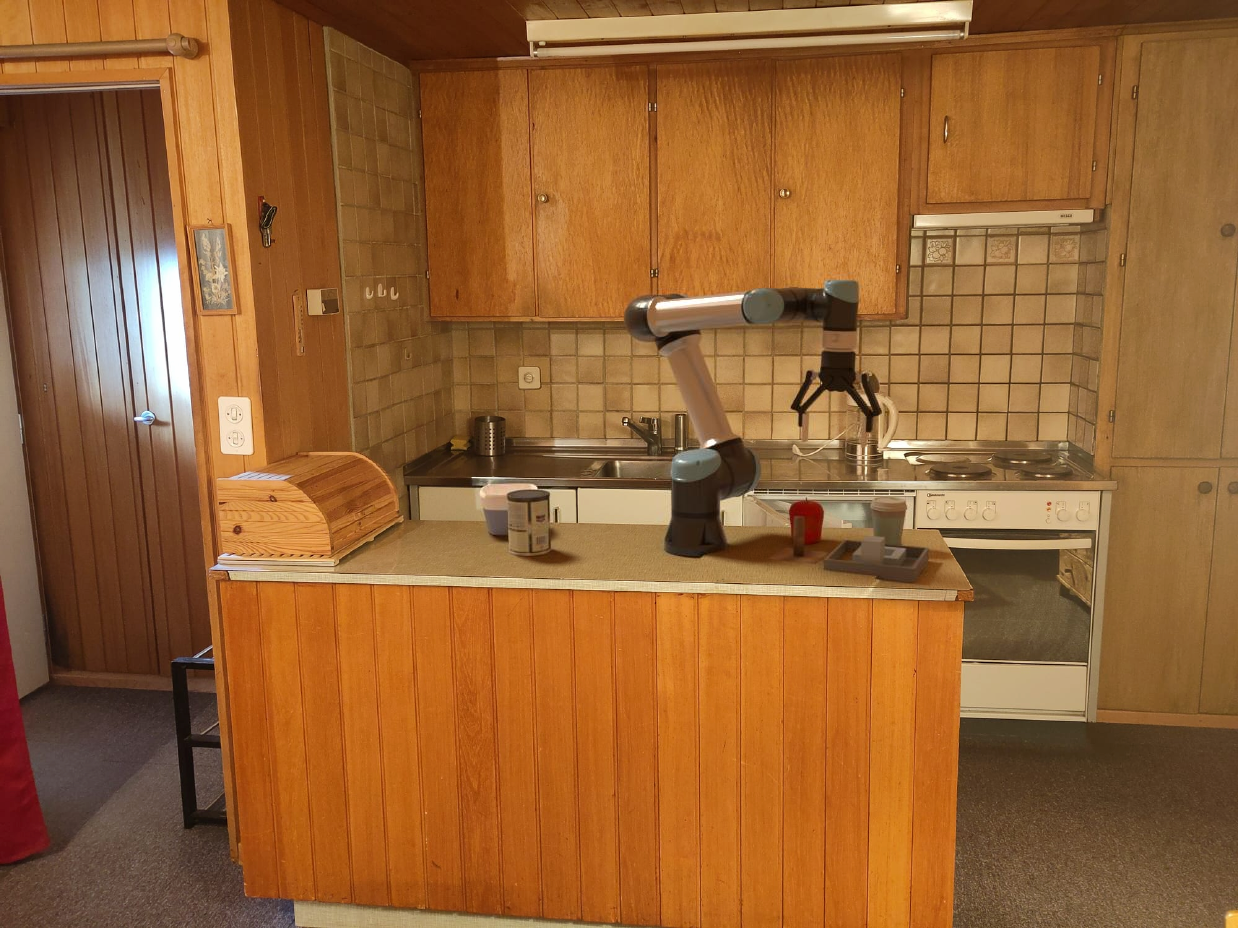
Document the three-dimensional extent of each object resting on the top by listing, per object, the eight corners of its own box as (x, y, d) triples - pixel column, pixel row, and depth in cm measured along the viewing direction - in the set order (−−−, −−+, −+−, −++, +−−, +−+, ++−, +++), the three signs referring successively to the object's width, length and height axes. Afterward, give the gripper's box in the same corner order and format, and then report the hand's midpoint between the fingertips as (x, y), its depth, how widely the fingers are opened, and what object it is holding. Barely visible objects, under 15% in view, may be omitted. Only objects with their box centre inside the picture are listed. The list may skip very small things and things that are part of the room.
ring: (846, 570, 228) (847, 539, 227) (861, 554, 241) (862, 524, 240) (893, 575, 224) (894, 543, 222) (906, 558, 237) (907, 528, 236)
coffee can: (521, 543, 256) (520, 487, 254) (558, 547, 252) (557, 490, 250) (500, 553, 247) (498, 495, 245) (538, 558, 243) (536, 499, 240)
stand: (768, 561, 237) (769, 520, 236) (782, 550, 247) (782, 510, 246) (815, 567, 233) (816, 524, 231) (827, 555, 243) (828, 514, 241)
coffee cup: (907, 554, 243) (908, 504, 241) (869, 552, 245) (871, 502, 243) (904, 545, 251) (906, 496, 249) (868, 543, 253) (869, 495, 251)
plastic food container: (481, 525, 277) (479, 484, 275) (539, 523, 278) (538, 482, 277) (479, 538, 262) (478, 495, 260) (541, 536, 263) (540, 493, 262)
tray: (823, 573, 228) (823, 559, 227) (843, 552, 245) (844, 539, 245) (914, 582, 220) (914, 568, 219) (928, 560, 237) (929, 547, 237)
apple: (821, 549, 248) (822, 501, 246) (786, 547, 251) (787, 499, 249) (825, 541, 256) (826, 494, 254) (791, 539, 259) (791, 492, 257)
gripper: (779, 348, 234) (775, 441, 238) (891, 353, 223) (885, 451, 227) (789, 346, 240) (785, 437, 244) (898, 351, 230) (893, 446, 234)
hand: (833, 444), depth 236 cm, fingers open, 13 cm apart
